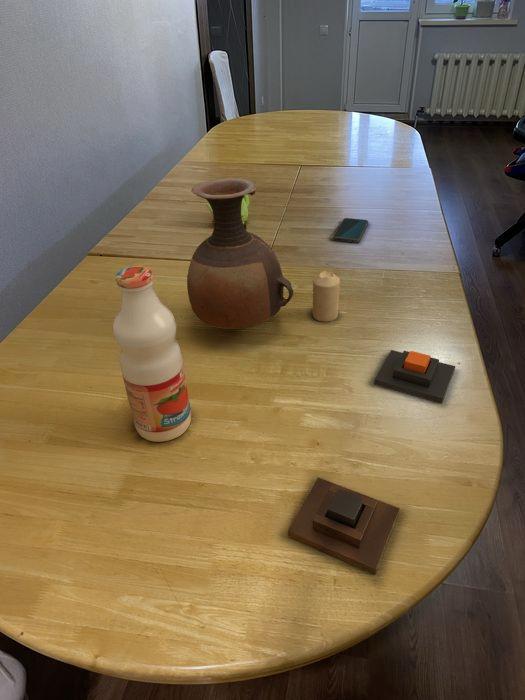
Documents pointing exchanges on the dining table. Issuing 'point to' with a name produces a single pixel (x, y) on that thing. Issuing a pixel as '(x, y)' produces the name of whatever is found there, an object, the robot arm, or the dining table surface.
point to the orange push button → (415, 377)
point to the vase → (233, 264)
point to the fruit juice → (150, 358)
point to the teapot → (243, 208)
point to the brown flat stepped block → (345, 527)
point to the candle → (325, 296)
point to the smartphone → (350, 230)
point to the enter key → (417, 362)
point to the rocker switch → (345, 508)
